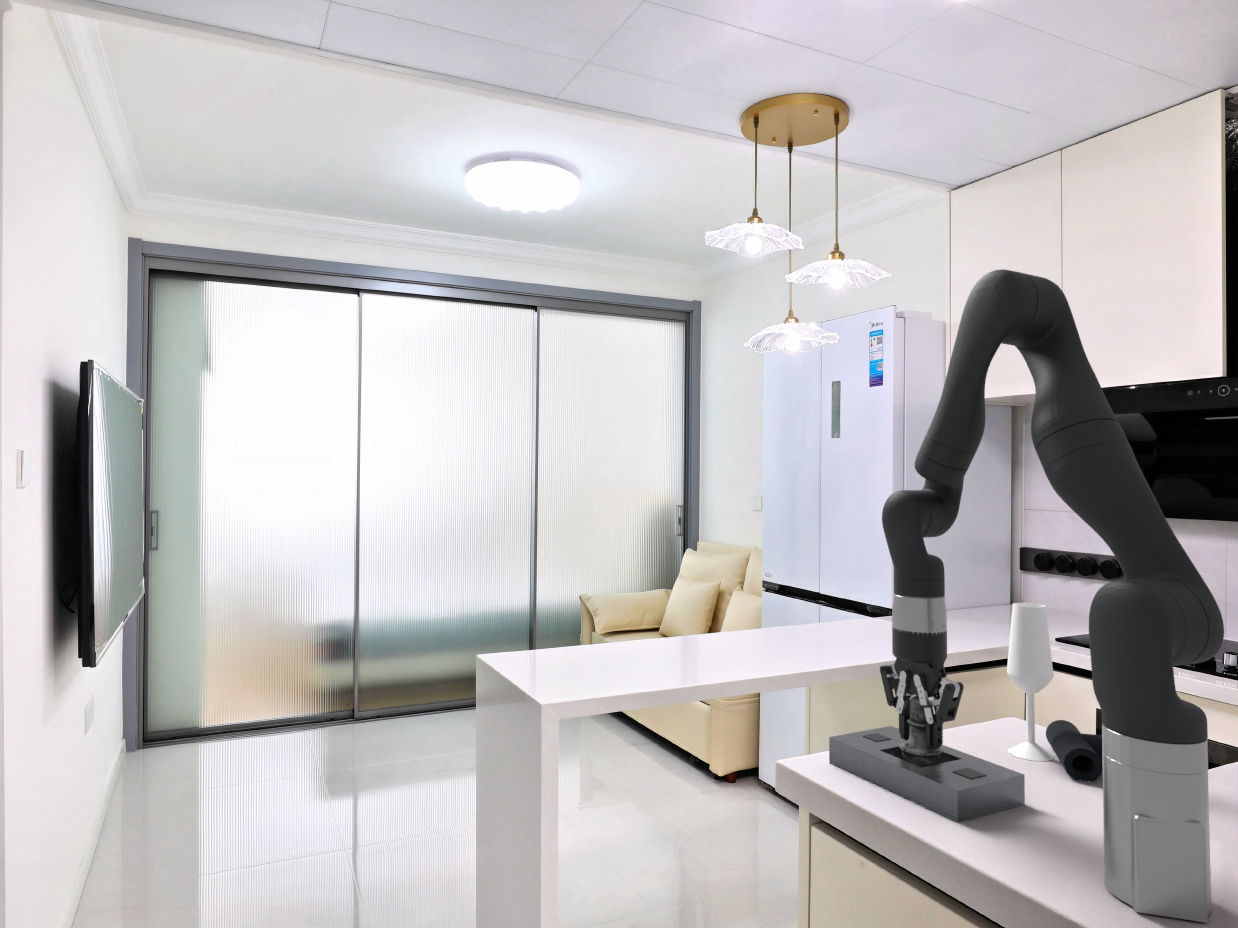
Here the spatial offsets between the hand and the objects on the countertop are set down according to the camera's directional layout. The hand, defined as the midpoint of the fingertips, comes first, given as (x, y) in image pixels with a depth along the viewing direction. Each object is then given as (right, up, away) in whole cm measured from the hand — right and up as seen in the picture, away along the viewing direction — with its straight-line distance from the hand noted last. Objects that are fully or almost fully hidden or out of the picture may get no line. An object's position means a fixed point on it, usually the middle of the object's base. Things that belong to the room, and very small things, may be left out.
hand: (920, 742), depth 113 cm
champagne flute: (+23, -6, +12) cm, 26 cm away
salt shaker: (0, -5, 0) cm, 5 cm away
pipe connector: (+30, -6, +6) cm, 31 cm away
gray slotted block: (0, -6, 0) cm, 6 cm away
